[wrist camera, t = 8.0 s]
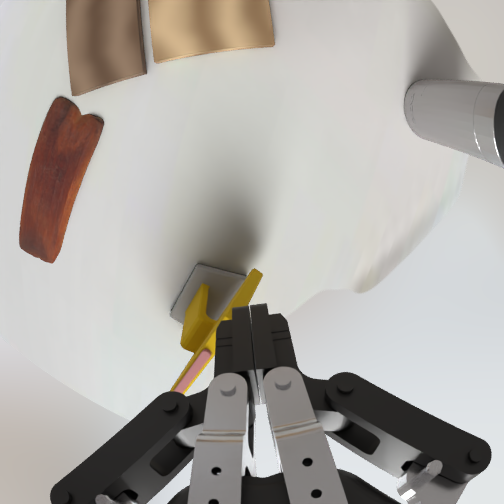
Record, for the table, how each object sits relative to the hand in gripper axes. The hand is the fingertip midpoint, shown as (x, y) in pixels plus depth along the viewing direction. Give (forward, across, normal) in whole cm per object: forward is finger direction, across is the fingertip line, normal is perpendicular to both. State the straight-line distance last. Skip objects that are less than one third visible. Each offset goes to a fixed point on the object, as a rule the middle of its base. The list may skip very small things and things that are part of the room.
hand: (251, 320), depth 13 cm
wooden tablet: (+28, +28, -3) cm, 40 cm away
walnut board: (+27, +15, -24) cm, 39 cm away
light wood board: (+27, +1, -24) cm, 36 cm away
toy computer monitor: (+27, +8, +18) cm, 34 cm away
